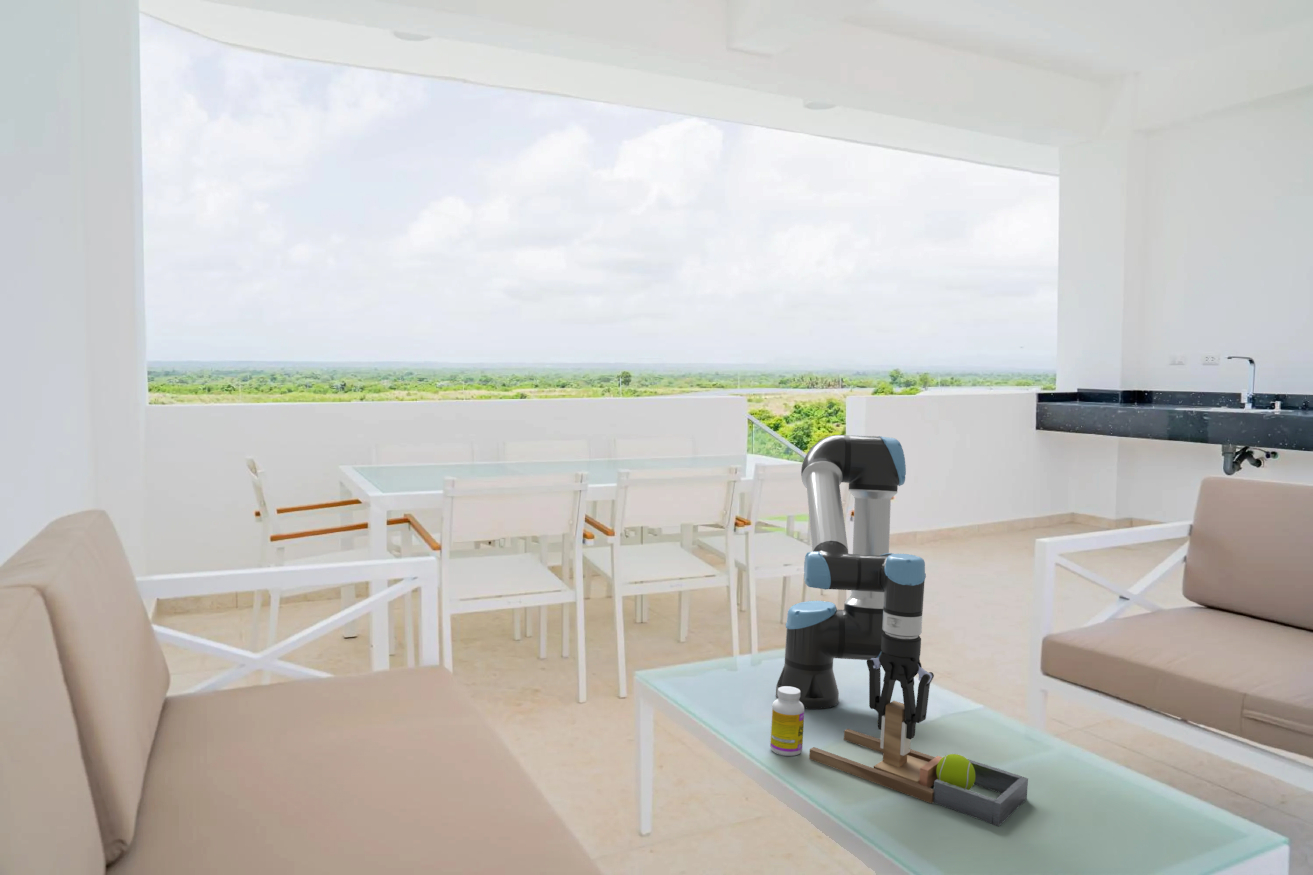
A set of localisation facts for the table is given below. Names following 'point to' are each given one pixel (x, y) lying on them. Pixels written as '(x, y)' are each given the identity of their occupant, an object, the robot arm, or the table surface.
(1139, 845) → the table surface
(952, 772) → the tennis ball
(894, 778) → the track rails
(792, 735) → the supplement bottle
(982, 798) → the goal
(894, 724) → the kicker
